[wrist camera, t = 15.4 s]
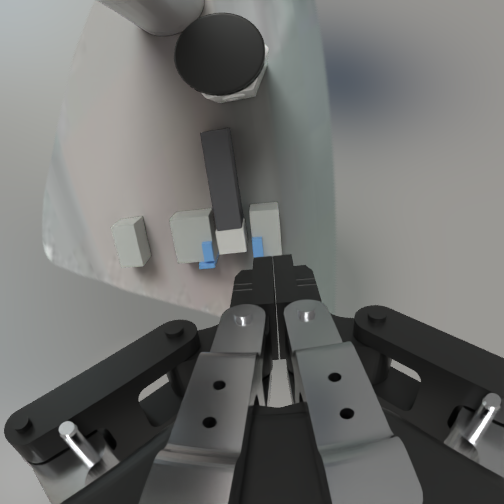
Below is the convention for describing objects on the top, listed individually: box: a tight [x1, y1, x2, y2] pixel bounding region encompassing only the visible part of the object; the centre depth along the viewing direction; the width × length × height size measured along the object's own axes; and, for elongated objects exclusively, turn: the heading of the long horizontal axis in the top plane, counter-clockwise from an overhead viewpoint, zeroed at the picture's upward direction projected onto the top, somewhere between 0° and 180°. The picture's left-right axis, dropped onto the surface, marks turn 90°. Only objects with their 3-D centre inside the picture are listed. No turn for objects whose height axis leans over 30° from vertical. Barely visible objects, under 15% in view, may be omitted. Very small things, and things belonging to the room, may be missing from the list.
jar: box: [174, 13, 269, 103], centre depth 29 cm, size 9×8×12 cm
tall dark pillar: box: [200, 128, 248, 255], centre depth 39 cm, size 15×3×4 cm, turn 8°
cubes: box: [111, 202, 282, 269], centre depth 41 cm, size 7×22×4 cm, turn 96°
